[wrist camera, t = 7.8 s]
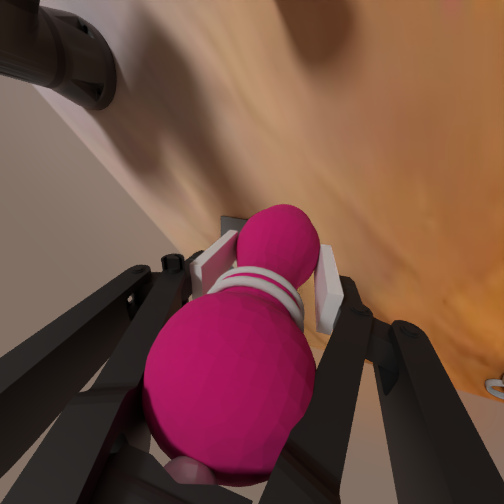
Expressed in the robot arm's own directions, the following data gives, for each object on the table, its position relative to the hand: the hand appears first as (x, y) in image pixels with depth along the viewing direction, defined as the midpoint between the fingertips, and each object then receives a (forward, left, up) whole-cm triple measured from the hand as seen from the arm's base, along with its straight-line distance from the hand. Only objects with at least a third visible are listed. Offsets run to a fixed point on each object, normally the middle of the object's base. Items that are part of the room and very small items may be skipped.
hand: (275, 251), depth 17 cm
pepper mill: (0, 0, -5) cm, 5 cm away
